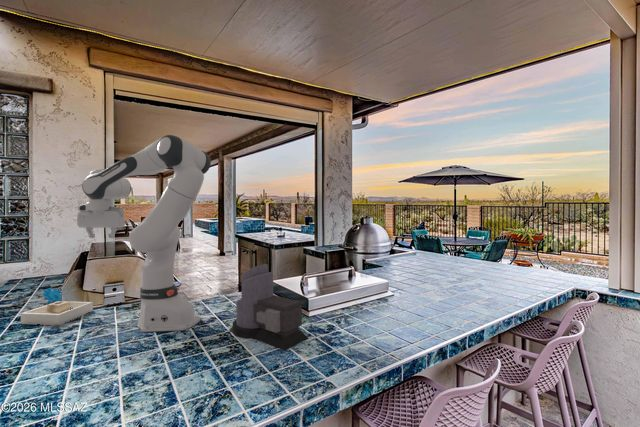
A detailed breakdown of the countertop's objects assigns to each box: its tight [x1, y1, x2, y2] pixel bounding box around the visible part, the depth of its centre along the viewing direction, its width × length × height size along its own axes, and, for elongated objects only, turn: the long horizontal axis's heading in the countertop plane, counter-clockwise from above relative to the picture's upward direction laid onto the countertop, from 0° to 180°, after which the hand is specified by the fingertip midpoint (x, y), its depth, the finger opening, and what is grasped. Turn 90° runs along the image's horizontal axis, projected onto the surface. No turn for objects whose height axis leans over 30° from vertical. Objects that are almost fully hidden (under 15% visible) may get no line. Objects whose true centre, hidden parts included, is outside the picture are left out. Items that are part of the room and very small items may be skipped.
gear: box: [42, 287, 62, 305], centre depth 148 cm, size 11×6×10 cm
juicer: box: [228, 263, 309, 351], centre depth 114 cm, size 30×16×24 cm, turn 52°
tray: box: [20, 301, 94, 326], centre depth 131 cm, size 16×16×4 cm
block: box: [46, 300, 70, 314], centre depth 131 cm, size 5×5×5 cm
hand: (101, 237), depth 143 cm, fingers open, 8 cm apart
